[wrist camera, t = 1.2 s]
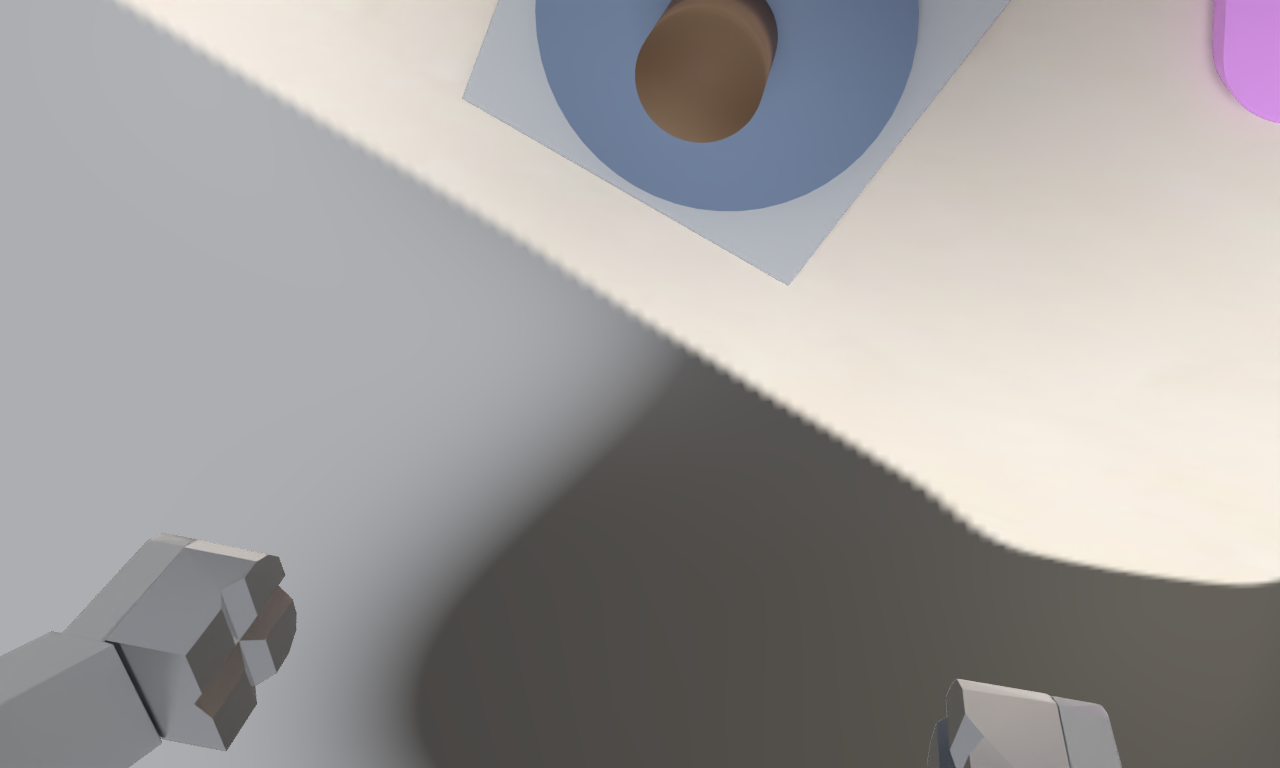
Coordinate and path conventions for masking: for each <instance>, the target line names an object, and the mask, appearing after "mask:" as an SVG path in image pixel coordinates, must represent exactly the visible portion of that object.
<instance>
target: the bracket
mask: <svg viewBox="0 0 1280 768" xmlns="http://www.w3.org/2000/svg"><path fill="white" fill-rule="evenodd" d="M1213 57H1214V63H1215V66H1216V69H1217V72H1218V74H1219V76H1220V78H1221V80H1222V81H1223V82H1224V84H1225V85H1226V87H1227V88H1228V89H1229V90H1230V92H1231V93H1232V94H1233V96H1234V97H1235V98H1236V99H1237V100H1238V102H1239V103H1240V104H1241V105H1242V106H1243V107H1245V108H1246V109H1247V110H1248V111H1250V112H1252V113H1253V114H1255V115H1257V116H1259V117H1261V118H1263V119H1266V120H1269V121H1273V122H1277V123H1280V0H1215V1H1214V26H1213Z"/></svg>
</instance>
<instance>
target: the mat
mask: <svg viewBox="0 0 1280 768" xmlns="http://www.w3.org/2000/svg"><path fill="white" fill-rule="evenodd" d="M1009 1H1010V0H918V5H919V23H918V37H917V45H916V50H915V55H914V60H913V65H912V69H911V72H910V75H909V78H908V81H907V83H906V86H905V89H904V92H903V94H902V96H901V98H900V100H899V102H898V104H897V107H896V109H895V111H894V113H893V115H892V116H891V118H890V119H889V121H888V122H887V124H886V125H885V127H884V128H883V130H882V131H881V133H880V134H879V136H878V137H877V138H876V140H875V141H874V142H873V143H872V144H871V145H870V147H869V148H868V149H867V150H866V151H865V152H864V153H863V155H862V156H860V157H859V158H858V159H857V160H856V161H855V162H854V163H853V164H852V165H851V166H849V167H848V168H847V169H846V170H845V171H844V172H842V173H841V174H839V175H838V176H837V177H835V178H834V179H832V180H831V181H829V182H828V183H827V184H825V185H823V186H821V187H819V188H817V189H816V190H814V191H812V192H810V193H808V194H806V195H804V196H801V197H799V198H796V199H793V200H791V201H788V202H786V203H782V204H778V205H774V206H770V207H766V208H762V209H754V210H746V211H712V210H703V209H696V208H691V207H687V206H683V205H679V204H675V203H672V202H669V201H666V200H664V199H661V198H658V197H655V196H653V195H651V194H649V193H647V192H645V191H643V190H641V189H639V188H637V187H635V186H634V185H632V184H631V183H629V182H628V181H626V180H625V179H623V178H622V177H620V176H619V175H617V174H616V173H615V172H613V171H612V170H611V169H610V168H609V167H607V166H606V165H605V164H604V163H603V162H601V161H600V160H599V159H598V158H597V157H596V156H595V155H594V154H593V153H592V152H591V151H590V150H589V148H588V147H587V146H586V145H585V144H584V143H583V142H582V141H581V139H580V138H579V137H578V135H577V134H576V133H575V131H574V130H573V129H572V127H571V126H570V125H569V123H568V121H567V119H566V118H565V116H564V114H563V113H562V111H561V109H560V108H559V106H558V104H557V102H556V99H555V97H554V95H553V93H552V90H551V88H550V86H549V84H548V81H547V77H546V74H545V71H544V68H543V64H542V61H541V56H540V51H539V46H538V40H537V33H536V17H535V5H536V0H499V1H498V4H497V7H496V9H495V12H494V15H493V17H492V20H491V23H490V26H489V28H488V31H487V34H486V36H485V39H484V42H483V44H482V47H481V50H480V52H479V55H478V58H477V60H476V63H475V66H474V68H473V71H472V74H471V76H470V79H469V82H468V84H467V87H466V90H465V92H464V95H463V98H462V99H464V100H466V101H467V102H469V103H471V104H473V105H474V106H476V107H478V108H480V109H481V110H483V111H485V112H487V113H488V114H490V115H492V116H494V117H495V118H497V119H499V120H501V121H502V122H504V123H506V124H507V125H509V126H511V127H513V128H514V129H516V130H518V131H520V132H521V133H523V134H525V135H527V136H528V137H530V138H532V139H534V140H535V141H537V142H539V143H541V144H542V145H544V146H546V147H547V148H549V149H551V150H553V151H554V152H556V153H558V154H560V155H561V156H563V157H565V158H567V159H568V160H570V161H572V162H574V163H575V164H577V165H579V166H580V167H582V168H584V169H586V170H587V171H589V172H591V173H593V174H594V175H596V176H598V177H600V178H601V179H603V180H605V181H607V182H608V183H610V184H612V185H614V186H615V187H617V188H619V189H620V190H622V191H624V192H626V193H627V194H629V195H631V196H633V197H634V198H636V199H638V200H640V201H641V202H643V203H645V204H647V205H648V206H650V207H652V208H654V209H655V210H657V211H659V212H660V213H662V214H664V215H666V216H667V217H669V218H671V219H673V220H674V221H676V222H678V223H680V224H681V225H683V226H685V227H687V228H688V229H690V230H692V231H693V232H695V233H697V234H699V235H700V236H702V237H704V238H706V239H707V240H709V241H711V242H713V243H714V244H716V245H718V246H720V247H721V248H723V249H725V250H727V251H728V252H730V253H732V254H733V255H735V256H737V257H739V258H740V259H742V260H744V261H746V262H747V263H749V264H751V265H753V266H754V267H756V268H758V269H760V270H761V271H763V272H765V273H767V274H768V275H770V276H772V277H773V278H775V279H777V280H779V281H780V282H782V283H784V284H786V285H787V286H788V285H789V284H790V283H791V281H792V280H793V279H794V278H795V276H796V275H797V274H798V272H799V271H800V270H801V269H802V267H803V266H804V265H805V263H806V262H807V261H808V260H809V258H810V257H811V256H812V254H813V253H814V252H815V251H816V249H817V248H818V247H819V245H820V244H821V243H822V242H823V240H824V239H825V238H826V236H827V235H828V234H829V233H830V231H831V230H832V229H833V227H834V226H835V225H836V224H837V222H838V221H839V220H840V218H841V217H842V216H843V215H844V213H845V212H846V211H847V209H848V208H849V207H850V206H851V204H852V203H853V202H854V201H855V199H856V198H857V197H858V195H859V194H860V193H861V192H862V190H863V189H864V188H865V186H866V185H867V184H868V183H869V181H870V180H871V179H872V177H873V176H874V175H875V174H876V172H877V171H878V170H879V168H880V167H881V166H882V165H883V163H884V162H885V161H886V159H887V158H888V157H889V156H890V154H891V153H892V152H893V150H894V149H895V148H896V147H897V145H898V144H899V143H900V141H901V140H902V139H903V138H904V136H905V135H906V134H907V132H908V131H909V130H910V129H911V127H912V126H913V125H914V123H915V122H916V121H917V120H918V118H919V117H920V116H921V114H922V113H923V112H924V111H925V109H926V108H927V107H928V105H929V104H930V103H931V102H932V100H933V99H934V98H935V96H936V95H937V94H938V93H939V91H940V90H941V89H942V87H943V86H944V85H945V84H946V82H947V81H948V80H949V79H950V77H951V76H952V75H953V73H954V72H955V71H956V70H957V68H958V67H959V66H960V64H961V63H962V62H963V61H964V59H965V58H966V57H967V55H968V54H969V53H970V52H971V50H972V49H973V48H974V46H975V45H976V44H977V43H978V41H979V40H980V39H981V37H982V36H983V35H984V34H985V32H986V31H987V30H988V28H989V27H990V26H991V25H992V23H993V22H994V21H995V19H996V18H997V17H998V16H999V14H1000V13H1001V12H1002V10H1003V9H1004V8H1005V7H1006V5H1007V4H1008V3H1009Z"/></svg>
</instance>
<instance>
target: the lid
mask: <svg viewBox="0 0 1280 768" xmlns="http://www.w3.org/2000/svg"><path fill="white" fill-rule="evenodd" d="M535 17H536V33H537V40H538V46H539V51H540V56H541V61H542V64H543V68H544V71H545V74H546V77H547V81H548V84H549V86H550V88H551V90H552V93H553V95H554V97H555V99H556V102H557V104H558V106H559V108H560V109H561V111H562V113H563V114H564V116H565V118H566V119H567V121H568V123H569V125H570V126H571V127H572V129H573V130H574V131H575V133H576V134H577V135H578V137H579V138H580V139H581V141H582V142H583V143H584V144H585V145H586V146H587V147H588V148H589V150H590V151H591V152H592V153H593V154H594V155H595V156H596V157H597V158H598V159H599V160H600V161H601V162H603V163H604V164H605V165H606V166H607V167H609V168H610V169H611V170H612V171H613V172H615V173H616V174H617V175H619V176H620V177H622V178H623V179H625V180H626V181H628V182H629V183H631V184H632V185H634V186H635V187H637V188H639V189H641V190H643V191H645V192H647V193H649V194H651V195H653V196H655V197H658V198H661V199H664V200H666V201H669V202H672V203H675V204H679V205H683V206H687V207H691V208H696V209H703V210H712V211H746V210H754V209H762V208H766V207H770V206H774V205H778V204H782V203H786V202H788V201H791V200H793V199H796V198H799V197H801V196H804V195H806V194H808V193H810V192H812V191H814V190H816V189H817V188H819V187H821V186H823V185H825V184H827V183H828V182H829V181H831V180H832V179H834V178H835V177H837V176H838V175H839V174H841V173H842V172H844V171H845V170H846V169H847V168H848V167H849V166H851V165H852V164H853V163H854V162H855V161H856V160H857V159H858V158H859V157H860V156H862V155H863V153H864V152H865V151H866V150H867V149H868V148H869V147H870V145H871V144H872V143H873V142H874V141H875V140H876V138H877V137H878V136H879V134H880V133H881V131H882V130H883V128H884V127H885V125H886V124H887V122H888V121H889V119H890V118H891V116H892V115H893V113H894V111H895V109H896V107H897V104H898V102H899V100H900V98H901V96H902V94H903V92H904V89H905V86H906V83H907V81H908V78H909V75H910V72H911V69H912V65H913V60H914V55H915V50H916V45H917V37H918V23H919V5H918V0H536V5H535Z"/></svg>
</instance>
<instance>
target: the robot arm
mask: <svg viewBox="0 0 1280 768" xmlns="http://www.w3.org/2000/svg"><path fill="white" fill-rule="evenodd" d="M284 577H285V573H284V570H283V567H282V564H281V562H280V559H279V557H277V556H272V555H268V554H263V553H259V552H254V551H249V550H244V549H239V548H235V547H230V546H225V545H221V544H216V543H211V542H206V541H202V540H196V539H192V538H187V537H181V536H175V535H171V534H166V533H162V534H159V535H157V536H155V537H153V538H151V539H149V540H148V541H147V542H146V543H145V544H144V545H143V546H142V547H141V548H140V549H139V550H138V551H137V552H136V554H135V555H134V556H133V557H132V558H131V559H130V560H129V561H128V562H127V563H126V564H125V565H124V567H123V568H122V569H121V570H120V571H119V572H118V573H117V574H116V575H115V576H114V578H113V579H112V580H111V581H110V582H109V583H108V584H107V585H106V586H105V587H104V588H103V589H102V590H101V592H100V593H99V594H98V595H97V596H96V597H95V598H94V599H93V600H92V601H91V602H90V604H89V605H88V606H87V607H86V608H85V609H84V610H83V611H82V612H81V613H80V614H79V616H78V617H77V618H76V619H75V620H74V621H73V622H72V623H71V624H70V625H69V626H68V627H67V629H66V630H65V631H64V632H63V633H59V632H53V631H51V632H49V633H47V634H45V635H43V636H41V637H39V638H37V639H35V640H33V641H31V642H29V643H27V644H25V645H22V646H20V647H19V648H17V649H14V650H12V651H10V652H8V653H6V654H4V655H2V656H0V768H129V767H130V766H131V765H133V764H134V763H136V762H137V761H138V760H140V759H141V758H142V757H144V756H145V755H147V754H148V753H149V752H151V751H152V750H153V749H155V748H156V747H157V746H159V745H160V744H161V743H162V741H161V739H164V740H169V741H174V742H180V743H185V744H190V745H196V746H201V747H206V748H212V749H216V750H222V751H227V749H228V748H229V747H230V745H231V743H232V742H233V740H234V739H235V737H236V736H237V734H238V733H239V731H240V729H241V728H242V726H243V725H244V723H245V722H246V720H247V719H248V717H249V715H250V714H251V712H252V711H253V709H254V708H255V706H256V705H257V698H256V688H255V686H256V685H258V684H260V683H261V682H263V681H264V680H266V679H268V678H269V677H271V676H273V675H274V674H276V673H277V672H278V670H279V668H280V667H281V665H282V664H283V662H284V660H285V659H286V657H287V655H288V654H289V651H290V648H291V645H292V642H293V639H294V635H295V632H296V609H295V606H294V603H293V599H292V598H291V597H290V596H289V595H288V594H287V593H286V592H284V591H283V590H282V589H281V588H280V587H279V586H278V585H279V584H280V582H281V581H282V579H283V578H284ZM946 707H947V717H946V718H944V719H942V720H940V721H938V722H937V723H936V726H935V729H934V732H933V735H932V738H931V742H930V749H929V755H928V762H927V768H1122V766H1121V763H1120V759H1119V755H1118V751H1117V747H1116V743H1115V740H1114V736H1113V732H1112V728H1111V724H1110V720H1109V716H1108V714H1107V713H1106V711H1105V710H1104V709H1103V707H1102V706H1101V705H1098V704H1094V703H1088V702H1083V701H1077V700H1071V699H1066V698H1060V697H1054V696H1049V695H1048V694H1044V693H1038V692H1032V691H1026V690H1020V689H1014V688H1008V687H1003V686H997V685H991V684H985V683H979V682H973V681H967V680H960V679H956V680H955V681H954V682H953V683H952V684H951V686H950V689H949V691H948V694H947V696H946Z"/></svg>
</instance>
